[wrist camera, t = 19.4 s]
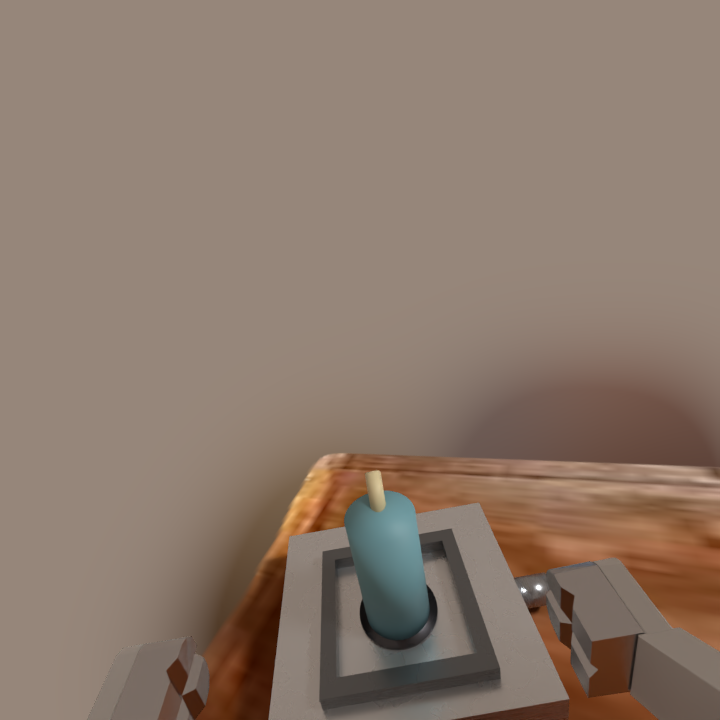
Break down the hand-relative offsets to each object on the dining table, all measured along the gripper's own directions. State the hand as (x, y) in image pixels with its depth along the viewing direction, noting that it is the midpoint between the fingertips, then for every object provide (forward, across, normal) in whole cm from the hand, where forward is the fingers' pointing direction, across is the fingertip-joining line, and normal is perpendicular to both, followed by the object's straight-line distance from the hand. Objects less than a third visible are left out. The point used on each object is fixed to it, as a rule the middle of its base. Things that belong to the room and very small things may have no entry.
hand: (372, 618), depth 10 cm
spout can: (+17, 0, +23) cm, 29 cm away
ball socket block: (+18, -1, +28) cm, 33 cm away
